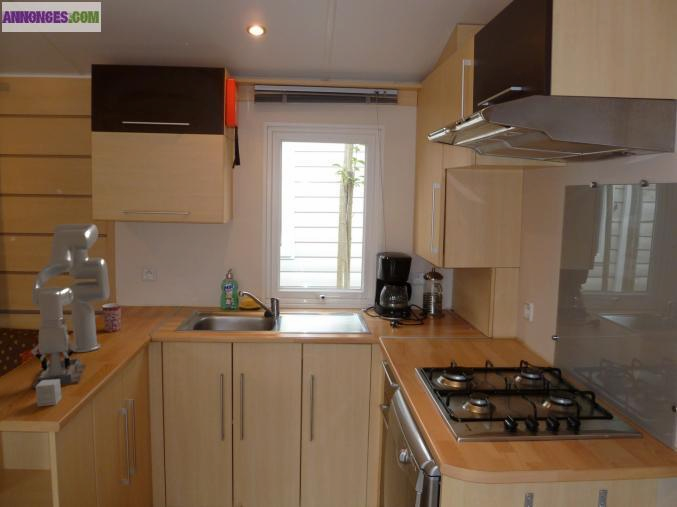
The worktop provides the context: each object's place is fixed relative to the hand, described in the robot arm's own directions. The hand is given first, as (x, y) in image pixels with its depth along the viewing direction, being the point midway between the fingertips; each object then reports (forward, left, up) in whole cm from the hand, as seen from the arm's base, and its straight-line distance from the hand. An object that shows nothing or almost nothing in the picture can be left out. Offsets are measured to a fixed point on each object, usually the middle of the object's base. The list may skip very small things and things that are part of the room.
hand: (56, 368), depth 208 cm
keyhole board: (-7, 0, -5) cm, 9 cm away
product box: (+21, +1, -6) cm, 22 cm away
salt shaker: (0, 0, -5) cm, 5 cm away
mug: (-76, +15, -6) cm, 77 cm away
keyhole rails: (-7, 0, -5) cm, 9 cm away
